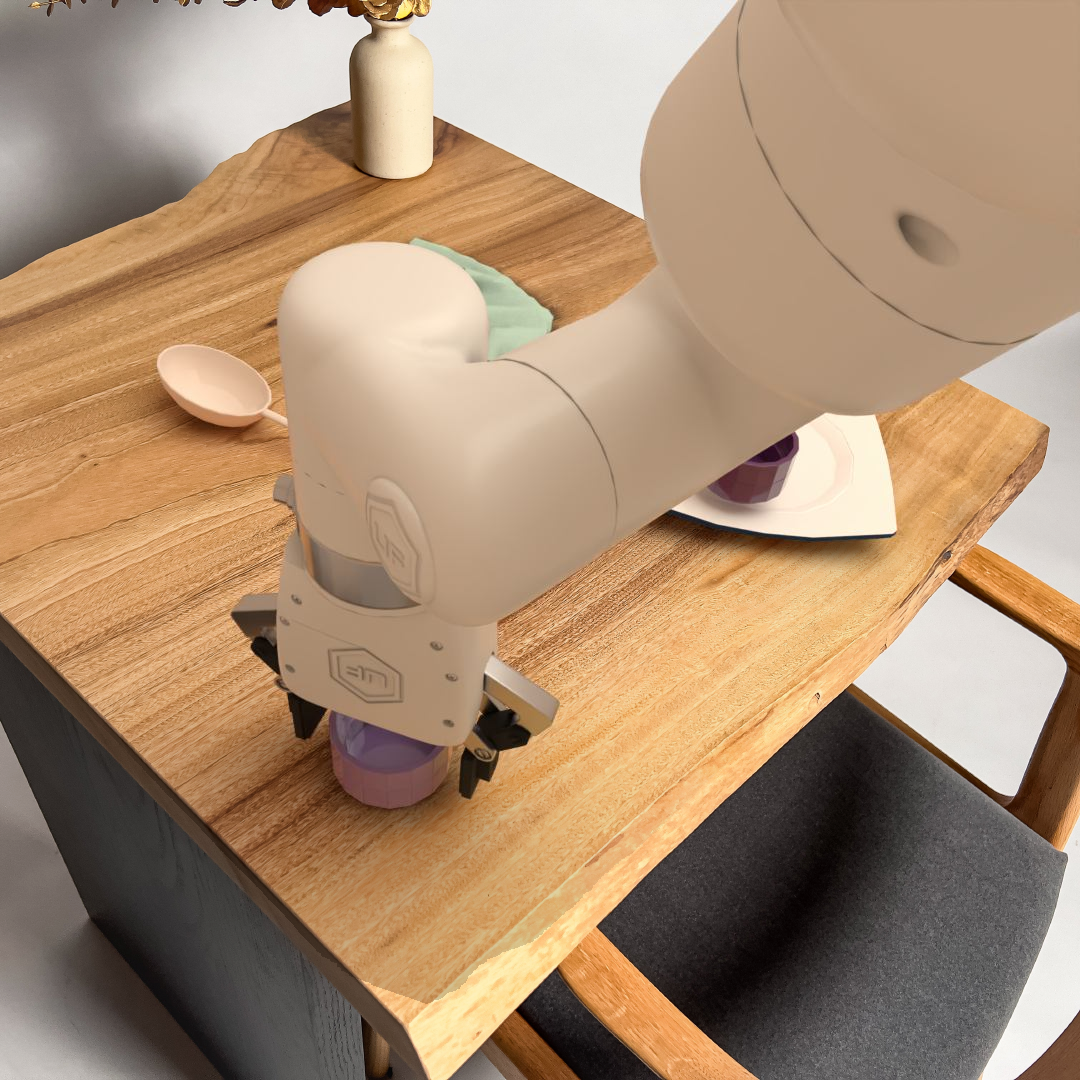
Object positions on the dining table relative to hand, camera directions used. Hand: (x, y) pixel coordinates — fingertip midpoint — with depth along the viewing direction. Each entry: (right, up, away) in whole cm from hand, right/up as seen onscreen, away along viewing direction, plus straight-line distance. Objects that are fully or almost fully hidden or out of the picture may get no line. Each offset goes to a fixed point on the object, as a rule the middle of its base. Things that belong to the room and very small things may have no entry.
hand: (393, 747), depth 55 cm
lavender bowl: (0, -1, +1) cm, 2 cm away
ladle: (-8, +17, +18) cm, 26 cm away
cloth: (-2, +32, +34) cm, 47 cm away
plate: (+25, +18, +23) cm, 38 cm away
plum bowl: (+23, +16, +17) cm, 33 cm away
